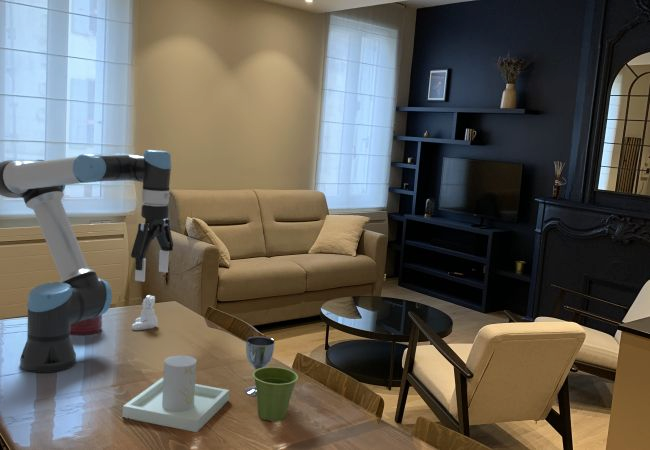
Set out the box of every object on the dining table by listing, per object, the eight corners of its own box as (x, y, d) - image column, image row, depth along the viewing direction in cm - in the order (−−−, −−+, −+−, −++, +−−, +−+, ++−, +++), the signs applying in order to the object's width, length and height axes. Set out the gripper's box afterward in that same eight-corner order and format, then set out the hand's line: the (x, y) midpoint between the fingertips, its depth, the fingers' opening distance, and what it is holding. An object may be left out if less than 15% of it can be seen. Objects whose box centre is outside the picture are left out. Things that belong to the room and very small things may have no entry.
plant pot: (277, 431, 156) (280, 388, 154) (240, 416, 162) (243, 375, 160) (303, 415, 166) (307, 374, 164) (268, 402, 172) (271, 363, 170)
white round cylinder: (186, 413, 158) (188, 368, 157) (156, 408, 160) (158, 363, 158) (198, 401, 166) (201, 358, 165) (170, 396, 168) (172, 353, 166)
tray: (122, 417, 156) (123, 405, 155) (161, 387, 175) (162, 377, 175) (196, 432, 151) (197, 420, 151) (228, 400, 171) (229, 390, 170)
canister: (93, 337, 211) (95, 286, 209) (55, 333, 211) (57, 283, 209) (107, 325, 224) (109, 277, 222) (71, 322, 224) (73, 274, 222)
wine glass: (275, 389, 181) (279, 339, 179) (263, 399, 173) (267, 347, 171) (250, 383, 183) (253, 334, 181) (238, 393, 176) (241, 342, 174)
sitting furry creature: (136, 322, 231) (137, 290, 229) (159, 323, 232) (161, 292, 230) (130, 330, 221) (132, 297, 220) (155, 331, 222) (157, 298, 221)
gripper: (144, 209, 167) (141, 286, 170) (186, 202, 191) (183, 270, 194) (119, 206, 169) (116, 283, 172) (164, 199, 193) (161, 266, 196)
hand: (151, 276), depth 183 cm, fingers open, 13 cm apart
